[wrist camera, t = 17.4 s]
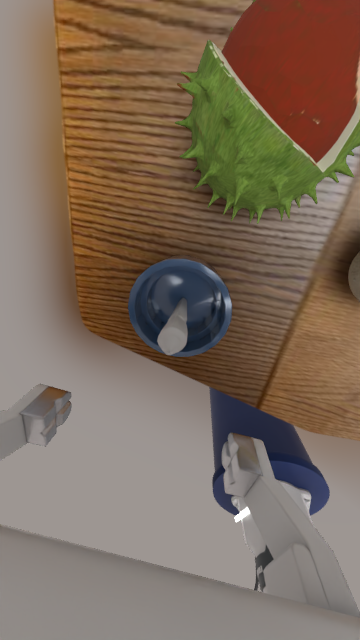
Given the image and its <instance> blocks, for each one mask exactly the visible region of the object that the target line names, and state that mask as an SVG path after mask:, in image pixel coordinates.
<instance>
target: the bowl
mask: <svg viewBox="0 0 360 640" xmlns="http://www.w3.org/2000/svg"><path fill="white" fill-rule="evenodd" d="M182 298H185V299H186V300H187V321H186V325H187V331H188V335H187V342H186V345H185V347H184V348H183V349H182V350H181V351H179V352H177V353H175V354H172V355H171V356H175V357H190V356H193V355H197V354H201V353H203V352H205V351H207V350H208V349H210V348H212V347H213V346H215V345H216V344H217V343H218V342H219V341H220V340H221V338H222V337H223V336H224V335H225V334H226V331H227V329H228V327H229V324H230V322H231V316H232V302H231V298H230V295H229V292H228V288H227V287H226V285H225V283H224V281H223V280H222V278H221V277H220V275H219V274H218V273H217V271H216V270H215V269H214V268H213V267H212V266H211V265H209V264H208V263H206V262H205V261H204V260H202V259H199V258H195V257H192V256H187V255H182V256H171V257H169V258H167V259H164V260H162V261H159V262H157V263H155V264H153V265H151V266H150V267H149V268H147V269H146V270H145V271H144V272H143V273H142V274H141V275H140V276H139V277H138V278H137V280H136V281H135V283H134V285H133V287H132V289H131V291H130V296H129V303H128V310H129V316H130V321H131V323H132V325H133V327H134V329H135V331H136V333H137V334H138V336H139V337H140V338H141V339H142V340H143V341H144V342H145V343H146V344H147V345H148V346H150V347H152V348H153V349H155V350H157V351H158V352H160V353H164V352H163V351H162V349H161V348H160V346H159V344H158V342H157V340H158V336H159V334H160V332H161V330H162V329H163V328H164V326H165V325H166V324H167V322H168V319H169V318H170V317H171V315H172V313H173V312H174V310H175V308H176V306H177V304H178V302H179V301H180V300H181V299H182ZM164 354H165V353H164Z"/></svg>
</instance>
